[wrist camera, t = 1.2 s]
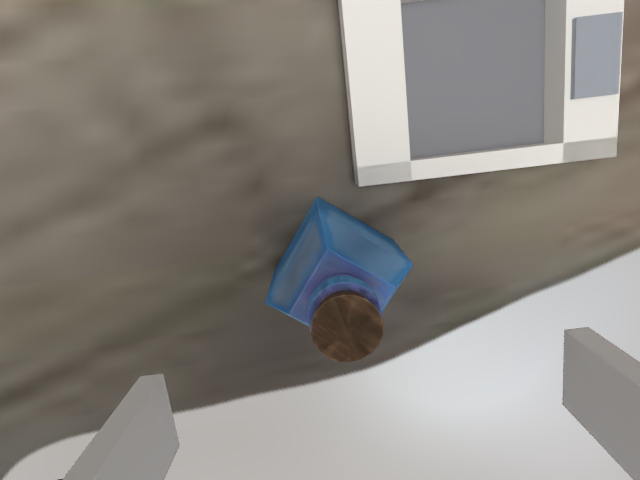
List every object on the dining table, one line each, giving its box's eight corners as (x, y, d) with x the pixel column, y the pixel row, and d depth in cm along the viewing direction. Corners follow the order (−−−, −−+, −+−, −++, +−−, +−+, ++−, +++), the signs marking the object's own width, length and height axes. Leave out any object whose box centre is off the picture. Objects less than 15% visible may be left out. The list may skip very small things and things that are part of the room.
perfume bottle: (392, 239, 29) (445, 303, 18) (348, 310, 30) (370, 414, 19) (317, 196, 28) (320, 233, 17) (274, 270, 30) (250, 353, 18)
